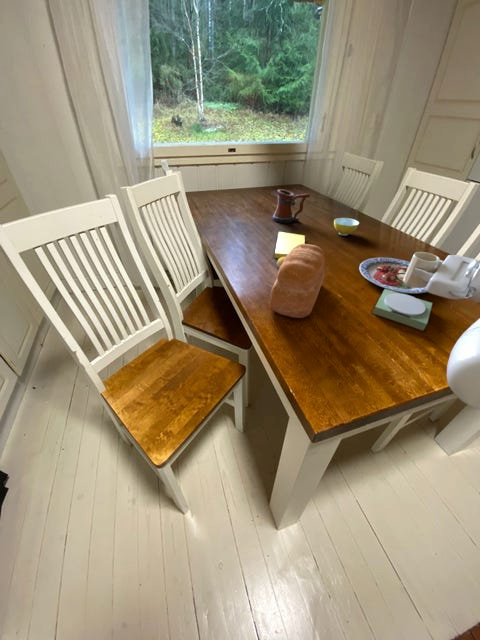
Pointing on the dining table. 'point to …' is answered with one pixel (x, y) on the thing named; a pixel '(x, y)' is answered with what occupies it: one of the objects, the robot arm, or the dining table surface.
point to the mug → (287, 206)
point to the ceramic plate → (388, 274)
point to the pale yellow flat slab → (287, 243)
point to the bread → (298, 281)
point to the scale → (403, 309)
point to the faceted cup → (422, 261)
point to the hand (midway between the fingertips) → (418, 265)
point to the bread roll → (280, 262)
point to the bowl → (345, 225)
